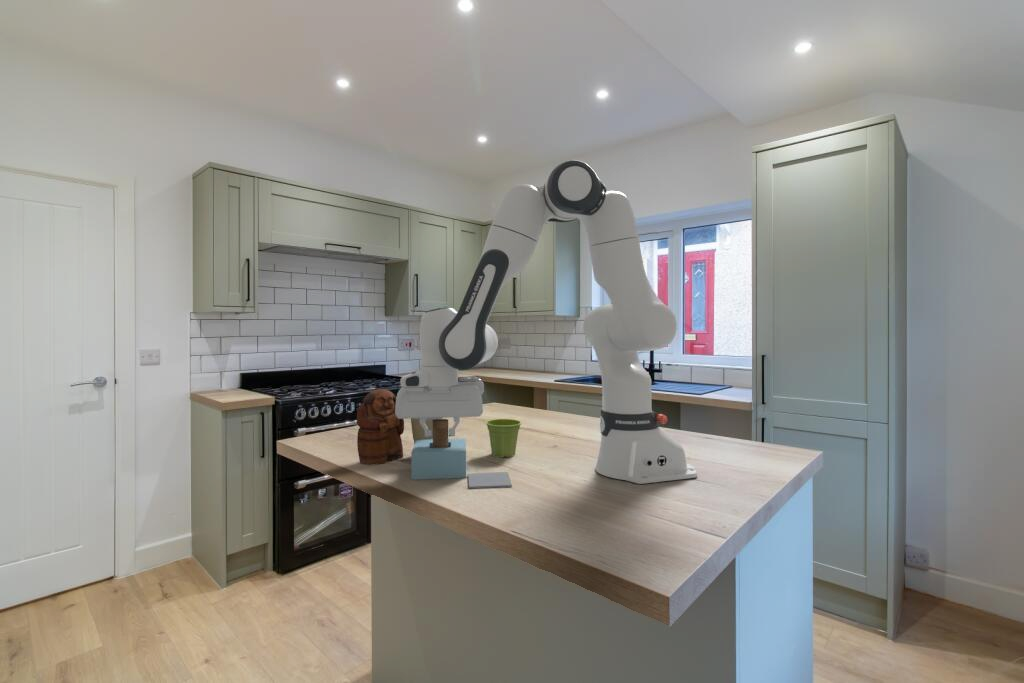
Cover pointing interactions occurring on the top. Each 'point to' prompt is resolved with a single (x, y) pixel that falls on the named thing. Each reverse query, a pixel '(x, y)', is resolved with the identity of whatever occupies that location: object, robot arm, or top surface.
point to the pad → (489, 480)
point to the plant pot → (503, 436)
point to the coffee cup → (421, 428)
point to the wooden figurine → (379, 428)
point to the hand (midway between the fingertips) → (440, 436)
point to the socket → (439, 460)
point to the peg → (440, 433)
